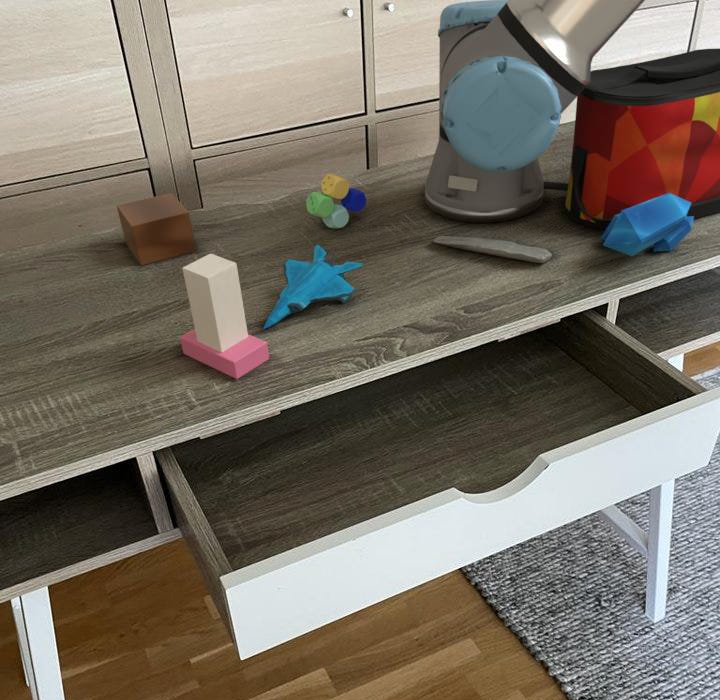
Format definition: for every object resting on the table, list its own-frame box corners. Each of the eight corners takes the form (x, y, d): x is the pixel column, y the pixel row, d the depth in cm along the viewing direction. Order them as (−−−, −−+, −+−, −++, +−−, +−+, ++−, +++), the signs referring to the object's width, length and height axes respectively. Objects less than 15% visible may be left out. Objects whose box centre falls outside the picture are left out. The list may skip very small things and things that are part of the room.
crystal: (719, 244, 96) (624, 289, 95) (673, 229, 103) (585, 271, 103) (709, 179, 92) (610, 226, 91) (662, 169, 99) (571, 212, 99)
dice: (356, 211, 112) (353, 162, 108) (369, 217, 110) (366, 167, 106) (306, 230, 109) (301, 179, 104) (318, 236, 107) (313, 186, 103)
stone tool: (559, 245, 99) (544, 256, 96) (557, 257, 100) (543, 268, 96) (446, 228, 105) (428, 238, 102) (446, 239, 106) (428, 250, 102)
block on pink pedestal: (269, 359, 86) (256, 267, 80) (237, 379, 84) (220, 286, 77) (215, 334, 90) (199, 245, 84) (183, 353, 88) (163, 263, 81)
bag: (719, 159, 118) (748, 27, 108) (796, 193, 109) (836, 52, 98) (532, 204, 110) (543, 66, 100) (597, 246, 100) (617, 98, 90)
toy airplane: (291, 277, 99) (286, 243, 96) (374, 279, 97) (371, 245, 95) (263, 330, 91) (256, 295, 88) (353, 334, 89) (350, 298, 86)
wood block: (179, 230, 111) (171, 192, 107) (196, 251, 106) (188, 212, 102) (126, 243, 108) (116, 205, 105) (141, 265, 104) (131, 226, 100)
